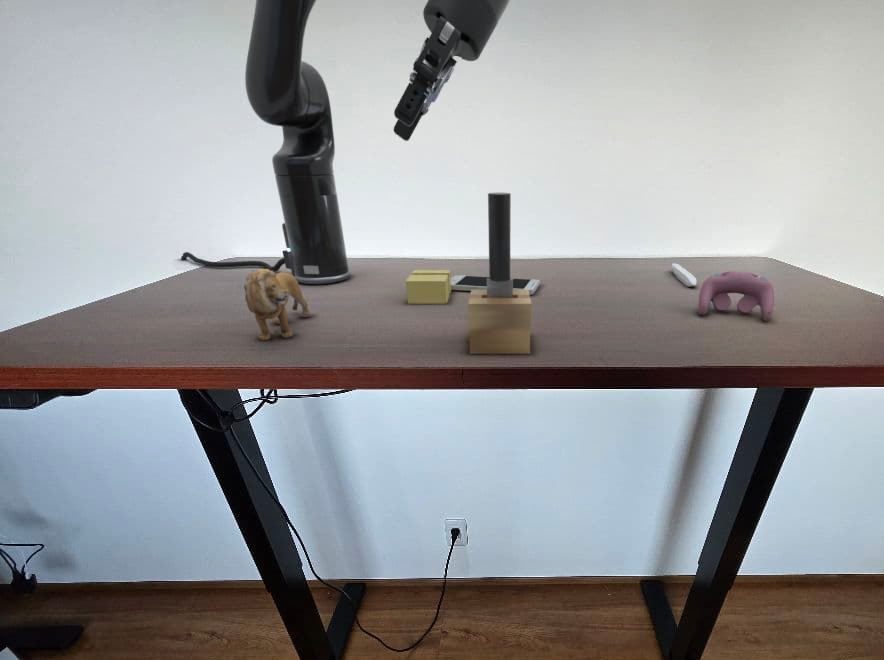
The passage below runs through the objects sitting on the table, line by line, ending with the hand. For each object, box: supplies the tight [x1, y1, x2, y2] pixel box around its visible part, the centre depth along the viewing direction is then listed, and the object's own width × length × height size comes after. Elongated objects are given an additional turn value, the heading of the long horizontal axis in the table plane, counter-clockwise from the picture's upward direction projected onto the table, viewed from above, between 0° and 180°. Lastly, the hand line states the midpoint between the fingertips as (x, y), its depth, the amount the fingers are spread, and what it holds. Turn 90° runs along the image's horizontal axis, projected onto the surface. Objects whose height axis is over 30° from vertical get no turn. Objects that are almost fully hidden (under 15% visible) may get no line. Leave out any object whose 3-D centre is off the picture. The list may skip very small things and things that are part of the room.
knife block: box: [467, 290, 532, 355], centre depth 57 cm, size 7×6×6 cm
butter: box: [405, 269, 452, 305], centre depth 76 cm, size 6×7×4 cm
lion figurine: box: [243, 268, 311, 341], centre depth 61 cm, size 15×5×9 cm, turn 13°
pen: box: [670, 263, 698, 288], centre depth 88 cm, size 2×14×2 cm, turn 178°
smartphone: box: [451, 274, 541, 296], centre depth 82 cm, size 7×16×1 cm, turn 77°
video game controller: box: [698, 270, 775, 322], centre depth 69 cm, size 10×5×7 cm, turn 71°
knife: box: [487, 192, 513, 298], centre depth 55 cm, size 3×2×17 cm
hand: (400, 129), depth 57 cm, fingers open, 8 cm apart
